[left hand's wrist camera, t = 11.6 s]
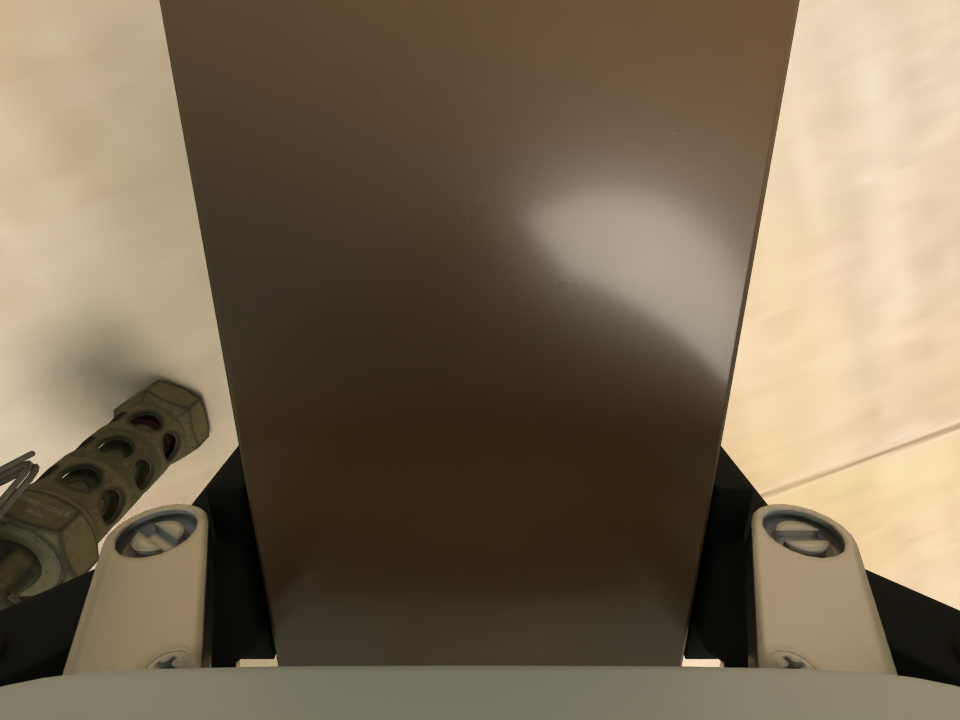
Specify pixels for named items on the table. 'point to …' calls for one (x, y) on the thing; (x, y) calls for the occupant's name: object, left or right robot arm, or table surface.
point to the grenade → (90, 489)
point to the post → (479, 307)
